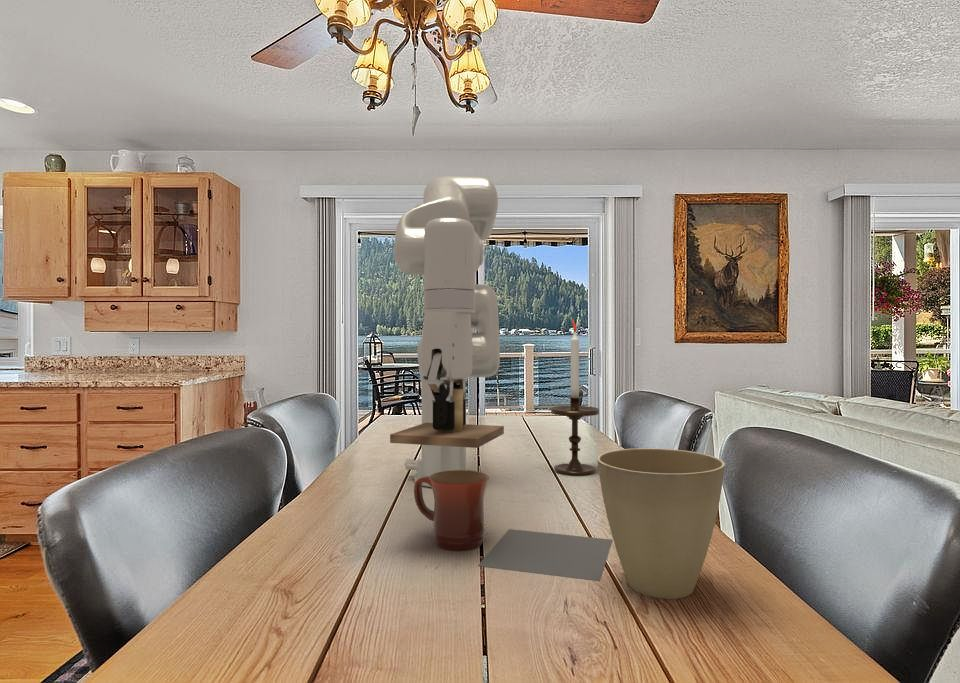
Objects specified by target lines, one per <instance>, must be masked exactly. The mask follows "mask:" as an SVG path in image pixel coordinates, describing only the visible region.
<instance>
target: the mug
mask: <svg viewBox="0 0 960 683" xmlns="http://www.w3.org/2000/svg"><path fill="white" fill-rule="evenodd" d="M489 479H490V477H489V475H488V474H486V473H485V472H481V471H476V470H467V469H466V470H452V471H442V472H438V473H434V474H432V475H430V476H429V477H428V476H425V477H421V478H419V479H418V480H417V481H416V482H415V481H414V486H413V496H414V500H415V501H414V502H415V504H416V507H417V508H418V510H419V512H420V514H422V515H423V516H424V517H425V518H426V519H428V520H430V521H432V522H433V538H434V540H435V542H434V543H435V545H436V546H437V547H439V548H440V549H442V550H446V551H452V552H462V551H463V552H465V551H472V550H474V549H477V548H478V549H479V547H480V546H482V544H483V540H484V537H485V530H486V529H485V508H484V506H485V505H484V504H485V502H484V501H485V494H486V489H487V485H488V482H489ZM423 482H424V483H427V484H429V485H430V486H431V487H430V488H431V490H432V494H433V498H434V499H433V502H434V504H433V505H434V506H433V510H432V509H430V508H428V506H427V505H426V503H425V500H424V495H423V486H422V484H423Z"/></svg>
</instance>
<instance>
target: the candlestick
mask: <svg viewBox="0 0 960 683" xmlns="http://www.w3.org/2000/svg"><path fill="white" fill-rule="evenodd" d="M571 323H572V327H573V328H572V329H573V334H572V337H571V338H570V395H569V396H566V398H567V399H569V400H570V402H569V405H557V406H552V407H551V408H550V413H551V414H553V415H558V416H565V417H566V418H568V420H571V435H570V436H569V437H568V441H569V442H570V445H571V447H570V448H569V451H570V452H571V459H570V460H569V462H568V463H561V464H560V463H559V464H557V465H554V472H555V473H556V474H559V475H563V476H568V477H569V476H571V477H585V476H586V477H587V476H591V475H594V474H595V473H596V468H595V466H593V465H590V464H584V463H581V462H580V460H579V451H581V448H579V443H581V440H582V438H581V437H580V435H579V430H578V429H579V426H578V425H579V420H581V419H582V418H583V417H591V416H598V415H600V409H599V407H595V406H594V407H593V406H588V405H587V406H586V405H580V399H584V396H580V338H578V335H577V329H578V328H577V324H576V323H575V321H574V319H572V321H571Z"/></svg>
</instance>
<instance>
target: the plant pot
mask: <svg viewBox="0 0 960 683" xmlns="http://www.w3.org/2000/svg"><path fill="white" fill-rule="evenodd" d="M596 459H597V460H596V461H597V469H598V474H599V481H600V487H601V493H602V499H603V500H602V501H603V504H604V507H605V508H604V509H605V512H606V517H607V522H608V524H609V528H610V532H611V537H612V540H613V543H614V546H615V547H614V548H615V549H616V552H617V556H618V559H619V562H620V566H621V568H622V570H623V574H624V575H625V578H626V581H627V583H628V584H627V585H628V586H629V587H630V589H632V590H634V591H635V592H637V593H639V594H641V595H645V596H648V597H650V598H657V599H665V600H667V599H668V600H670V599H671V600H672V599H673V600H676V599H682V598H686V597H688V596H690V595H691V594H693V592H694V590H695V587H696V584H697V582H698V579H699V576H700V574H701V571H702V569H703V566H704V563H705V560H706V557H707V554H708V550H709V547H710V543H711V540H712V536H713V533H714V529H715V525H716V520H717V516H718V513H719V512H718V511H719V506H720V500H721V496H722V495H721V494H722V487H723V481H724V474H725V469H726V468H725V466H726V463H725V461H724V460H722V459H720V458H718V457H715V456H713V455H709V454H706V453H701V452H696V451H690V450H682V449H671V448H658V447H657V448H654V447H653V448H651V447H650V448H649V447H648V448H647V447H646V448H621V449H615V450H610V451H606V452H603V453H601V454H599V455H598V456H597V458H596Z"/></svg>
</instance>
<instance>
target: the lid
mask: <svg viewBox="0 0 960 683" xmlns="http://www.w3.org/2000/svg"><path fill="white" fill-rule="evenodd" d="M446 391H447V388H446ZM452 402H455V428H454V429H453V430H435V429H433V423H423V424H422V423H421V424H418V425H415V426H412V427H409V428H406V429H402V430H399V431H396V432H393V433H390V434H389V444H402V445H403V444H404V445H418V446H422V445H435V446H453V447H466V448H473V449H478V448H481V447H482V446H484V445H485V444H487V443H490V442H491V441H493V440H495V439H497V438H499V437H501V436H502V435H504V434H505V431H504V430H505V425H493V424H491V425H489V424H488V425H487V424H470V423H469V424H467V423H466V424H465V425H464V426H463V389H455V388H453V396H452Z"/></svg>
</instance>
